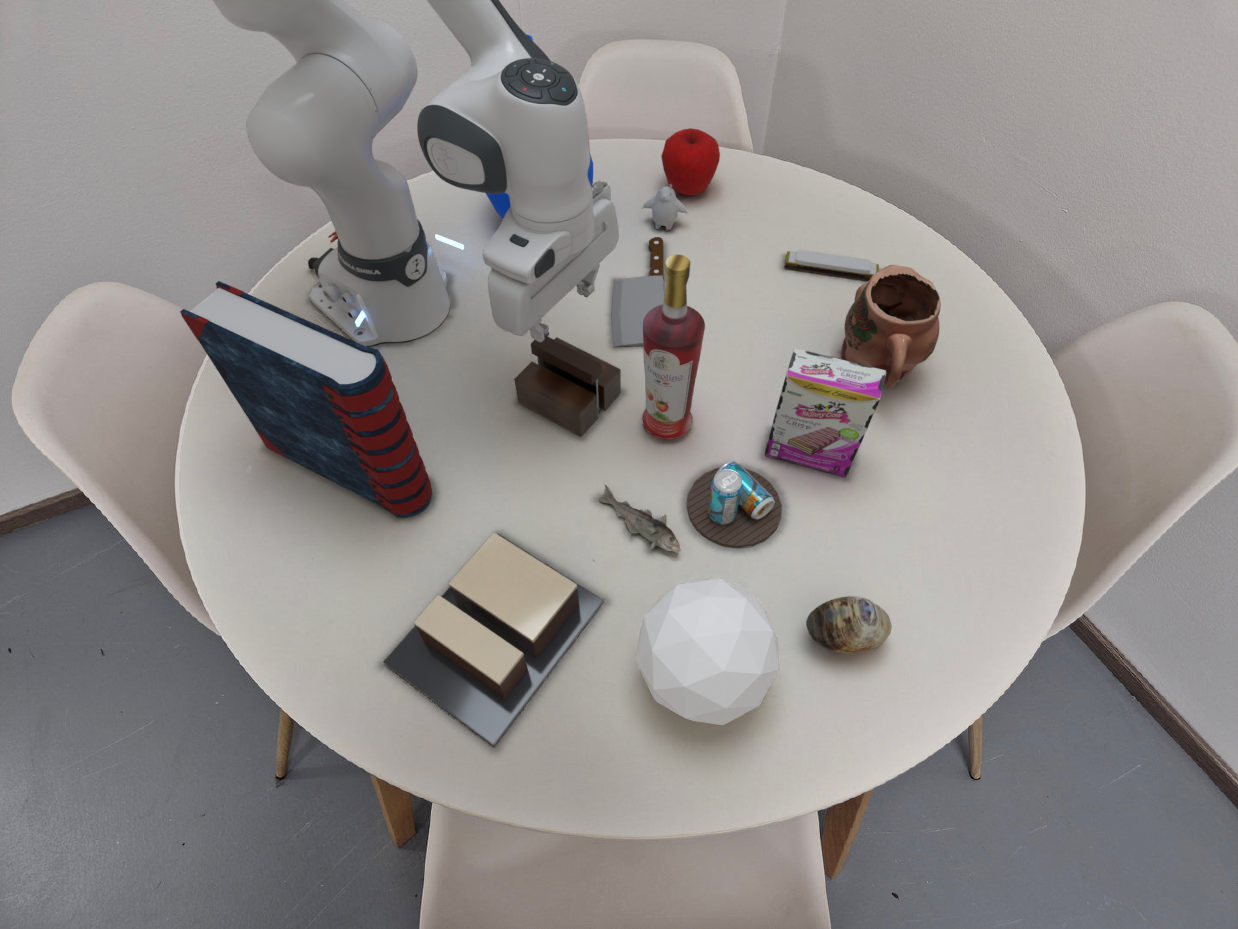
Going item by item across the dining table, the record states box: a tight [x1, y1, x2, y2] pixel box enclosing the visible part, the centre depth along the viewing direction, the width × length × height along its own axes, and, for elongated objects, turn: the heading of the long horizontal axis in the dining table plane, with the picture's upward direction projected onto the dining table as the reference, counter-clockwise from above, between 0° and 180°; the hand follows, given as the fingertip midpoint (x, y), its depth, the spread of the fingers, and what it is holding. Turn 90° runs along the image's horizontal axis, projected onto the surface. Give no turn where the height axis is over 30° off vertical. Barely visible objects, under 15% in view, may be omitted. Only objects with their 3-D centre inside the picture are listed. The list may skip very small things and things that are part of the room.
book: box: [179, 280, 433, 519], centre depth 91 cm, size 25×7×25 cm, turn 61°
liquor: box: [641, 254, 706, 440], centre depth 94 cm, size 7×7×28 cm
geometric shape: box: [635, 577, 781, 726], centre depth 79 cm, size 14×15×15 cm
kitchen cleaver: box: [611, 236, 665, 348], centre depth 120 cm, size 24×1×10 cm
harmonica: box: [784, 249, 880, 281], centre depth 122 cm, size 15×3×2 cm, turn 77°
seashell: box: [805, 595, 893, 654], centre depth 84 cm, size 10×6×8 cm, turn 91°
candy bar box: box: [764, 347, 886, 478], centre depth 95 cm, size 11×5×16 cm, turn 71°
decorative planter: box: [841, 264, 942, 388], centre depth 105 cm, size 20×12×14 cm, turn 176°
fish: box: [598, 484, 682, 553], centre depth 95 cm, size 13×4×5 cm
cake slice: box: [413, 594, 528, 699], centre depth 83 cm, size 12×4×5 cm, turn 56°
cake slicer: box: [530, 335, 602, 414], centre depth 104 cm, size 10×2×9 cm, turn 56°
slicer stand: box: [513, 337, 622, 438], centre depth 106 cm, size 11×10×5 cm
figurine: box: [641, 182, 689, 232], centre depth 127 cm, size 8×6×8 cm
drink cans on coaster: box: [686, 459, 782, 549], centre depth 94 cm, size 12×12×8 cm
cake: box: [382, 532, 604, 747], centre depth 85 cm, size 16×20×6 cm
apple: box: [661, 127, 721, 196], centre depth 131 cm, size 10×10×11 cm
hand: (563, 314), depth 95 cm, fingers open, 8 cm apart
